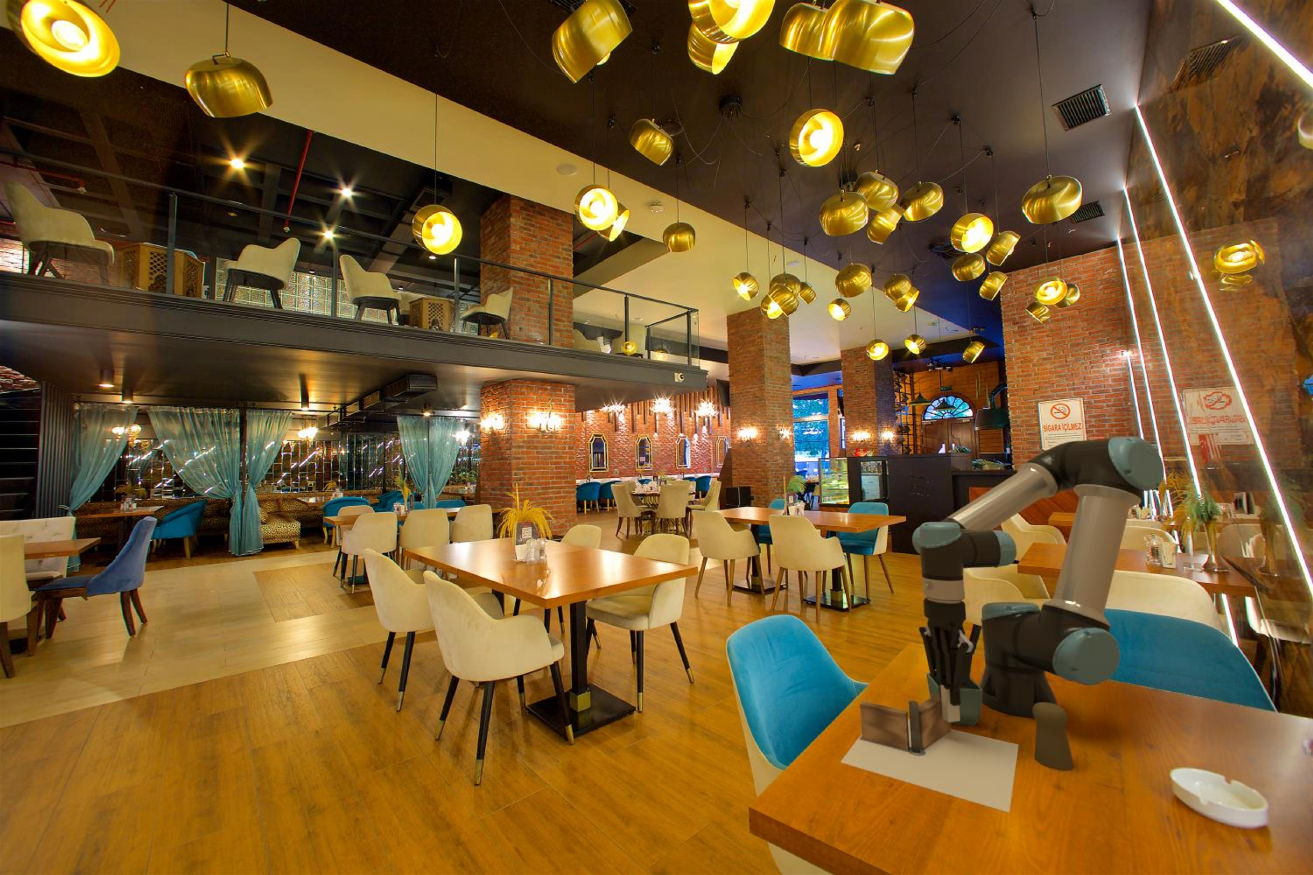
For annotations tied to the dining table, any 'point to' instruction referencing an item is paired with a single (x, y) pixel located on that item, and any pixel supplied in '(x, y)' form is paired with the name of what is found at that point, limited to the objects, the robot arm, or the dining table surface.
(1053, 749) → the cork
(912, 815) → the dining table surface
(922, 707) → the fence panel
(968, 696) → the flower pot
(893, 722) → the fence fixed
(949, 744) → the card
